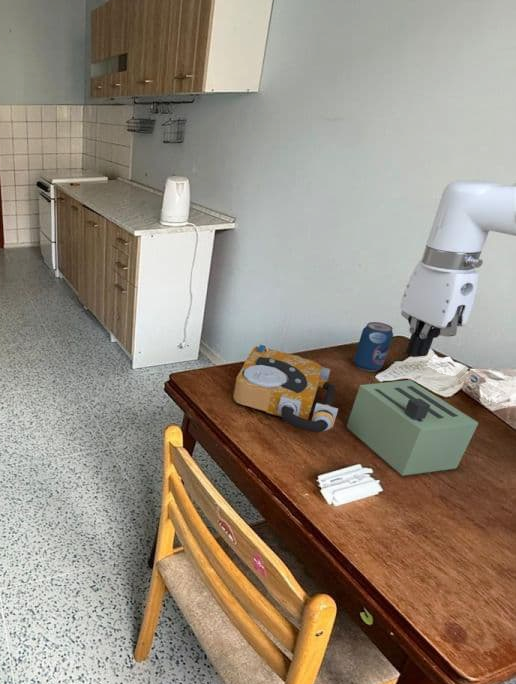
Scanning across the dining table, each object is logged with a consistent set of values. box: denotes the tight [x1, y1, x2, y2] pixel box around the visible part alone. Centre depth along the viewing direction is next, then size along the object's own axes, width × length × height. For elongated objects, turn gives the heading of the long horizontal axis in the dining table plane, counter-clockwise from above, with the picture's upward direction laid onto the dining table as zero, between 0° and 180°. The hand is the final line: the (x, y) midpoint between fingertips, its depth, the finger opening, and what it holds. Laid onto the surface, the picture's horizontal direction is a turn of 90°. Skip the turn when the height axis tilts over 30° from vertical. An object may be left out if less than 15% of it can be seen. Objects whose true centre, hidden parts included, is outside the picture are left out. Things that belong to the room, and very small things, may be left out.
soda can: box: [353, 321, 394, 372], centre depth 126 cm, size 7×7×12 cm
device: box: [233, 344, 339, 433], centre depth 112 cm, size 23×8×30 cm
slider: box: [404, 399, 430, 420], centre depth 89 cm, size 2×2×3 cm
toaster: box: [346, 379, 479, 476], centre depth 96 cm, size 12×16×11 cm
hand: (416, 354), depth 88 cm, fingers closed
